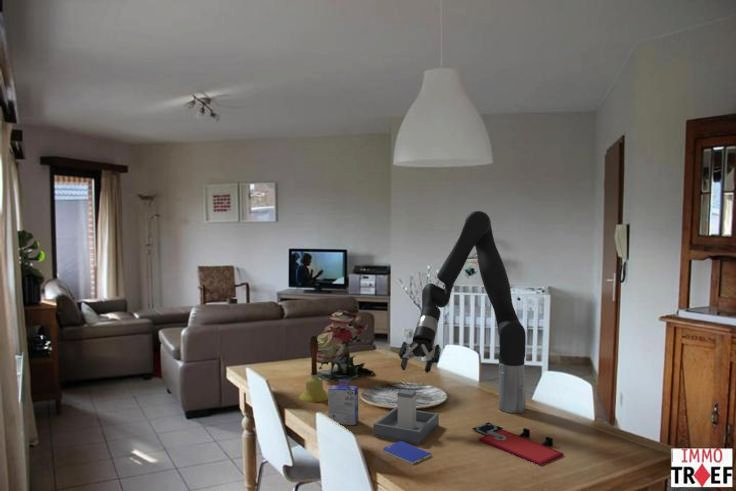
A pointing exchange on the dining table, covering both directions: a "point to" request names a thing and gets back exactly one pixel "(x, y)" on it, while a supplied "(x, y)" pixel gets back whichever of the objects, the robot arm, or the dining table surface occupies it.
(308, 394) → the handbell
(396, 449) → the hard drive
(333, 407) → the ink cartridge box
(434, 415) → the tray
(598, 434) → the dining table surface
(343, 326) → the rose bouquet
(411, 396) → the grey block
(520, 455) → the red board with handle
